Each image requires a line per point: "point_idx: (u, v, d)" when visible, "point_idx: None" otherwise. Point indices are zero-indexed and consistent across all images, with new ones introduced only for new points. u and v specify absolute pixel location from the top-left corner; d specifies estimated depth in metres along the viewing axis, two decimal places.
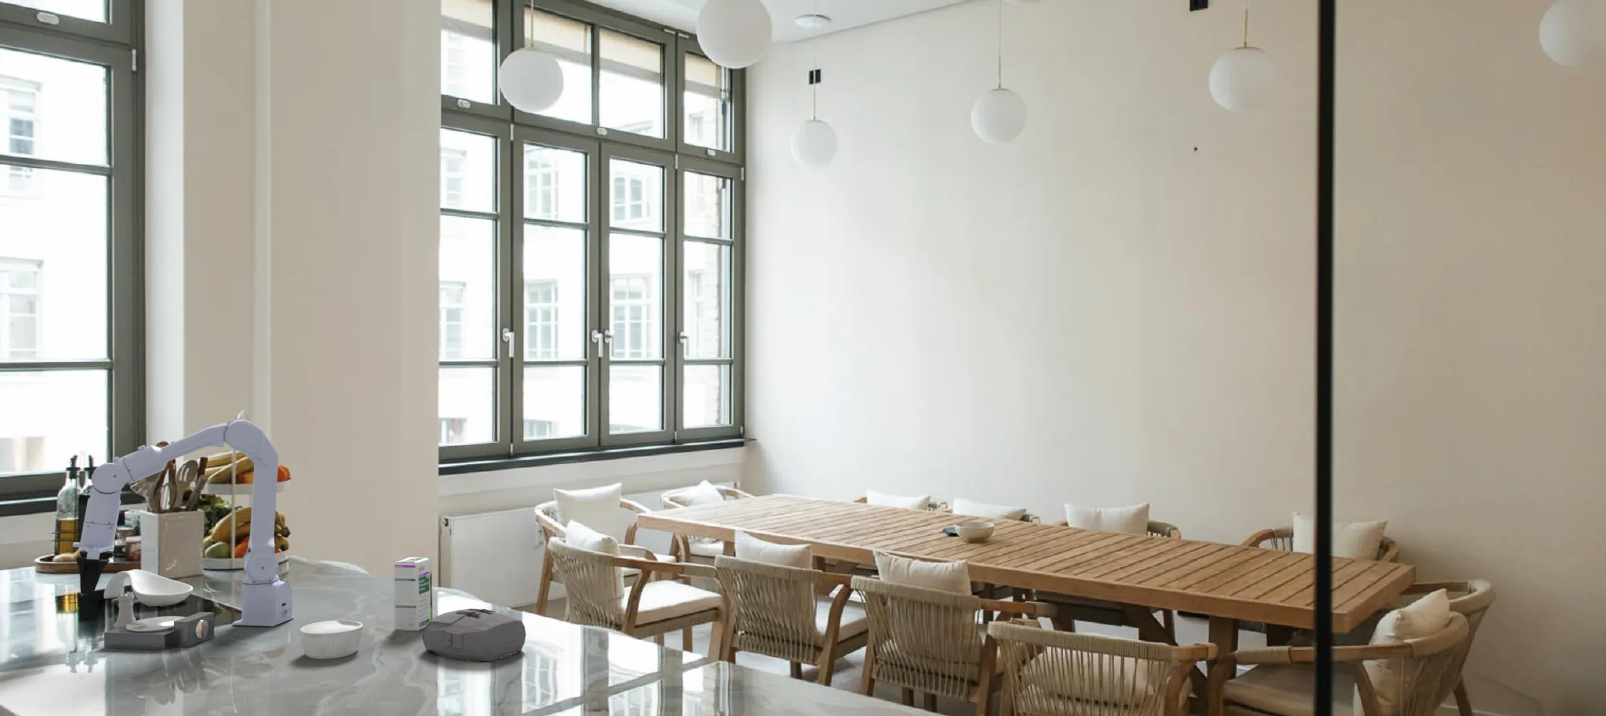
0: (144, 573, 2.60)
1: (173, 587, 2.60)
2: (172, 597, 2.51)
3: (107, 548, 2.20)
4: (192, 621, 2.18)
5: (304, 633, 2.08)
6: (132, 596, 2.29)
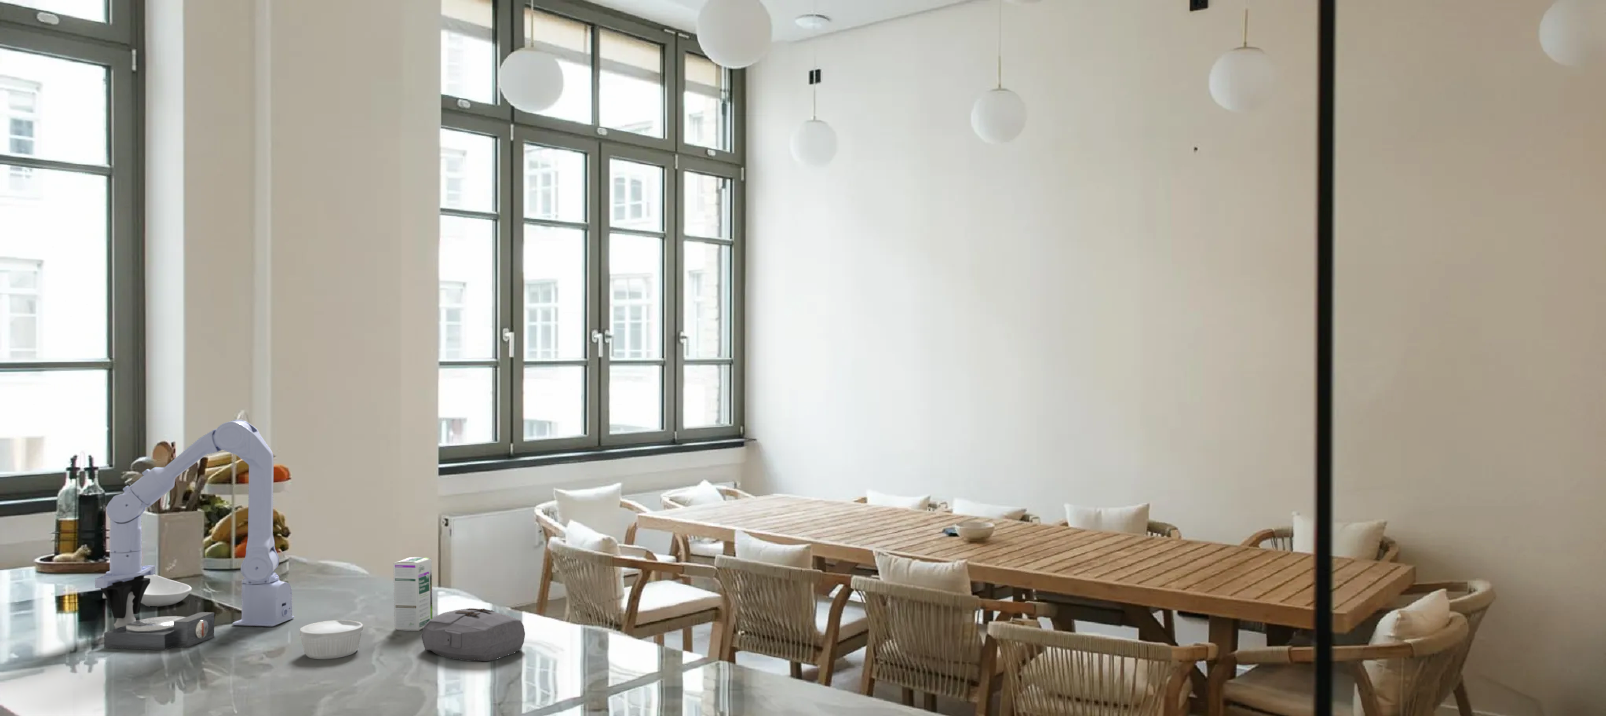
0: None
1: (172, 587, 2.60)
2: (170, 597, 2.51)
3: (123, 576, 2.26)
4: (192, 621, 2.18)
5: (304, 633, 2.08)
6: (132, 596, 2.29)
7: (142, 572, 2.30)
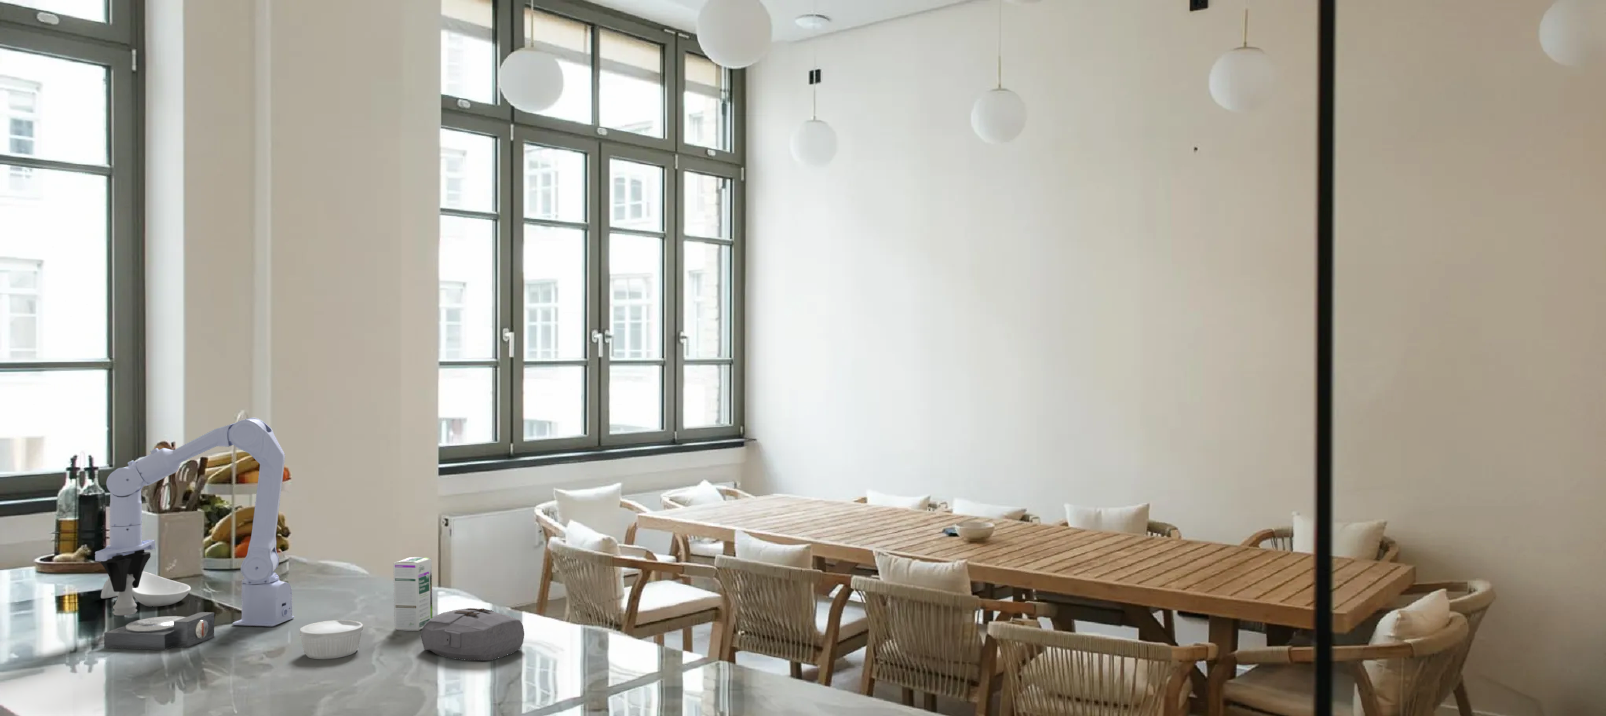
0: None
1: (171, 587, 2.60)
2: (170, 597, 2.51)
3: (123, 549, 2.26)
4: (192, 621, 2.18)
5: (304, 633, 2.08)
6: (132, 578, 2.29)
7: (142, 546, 2.30)
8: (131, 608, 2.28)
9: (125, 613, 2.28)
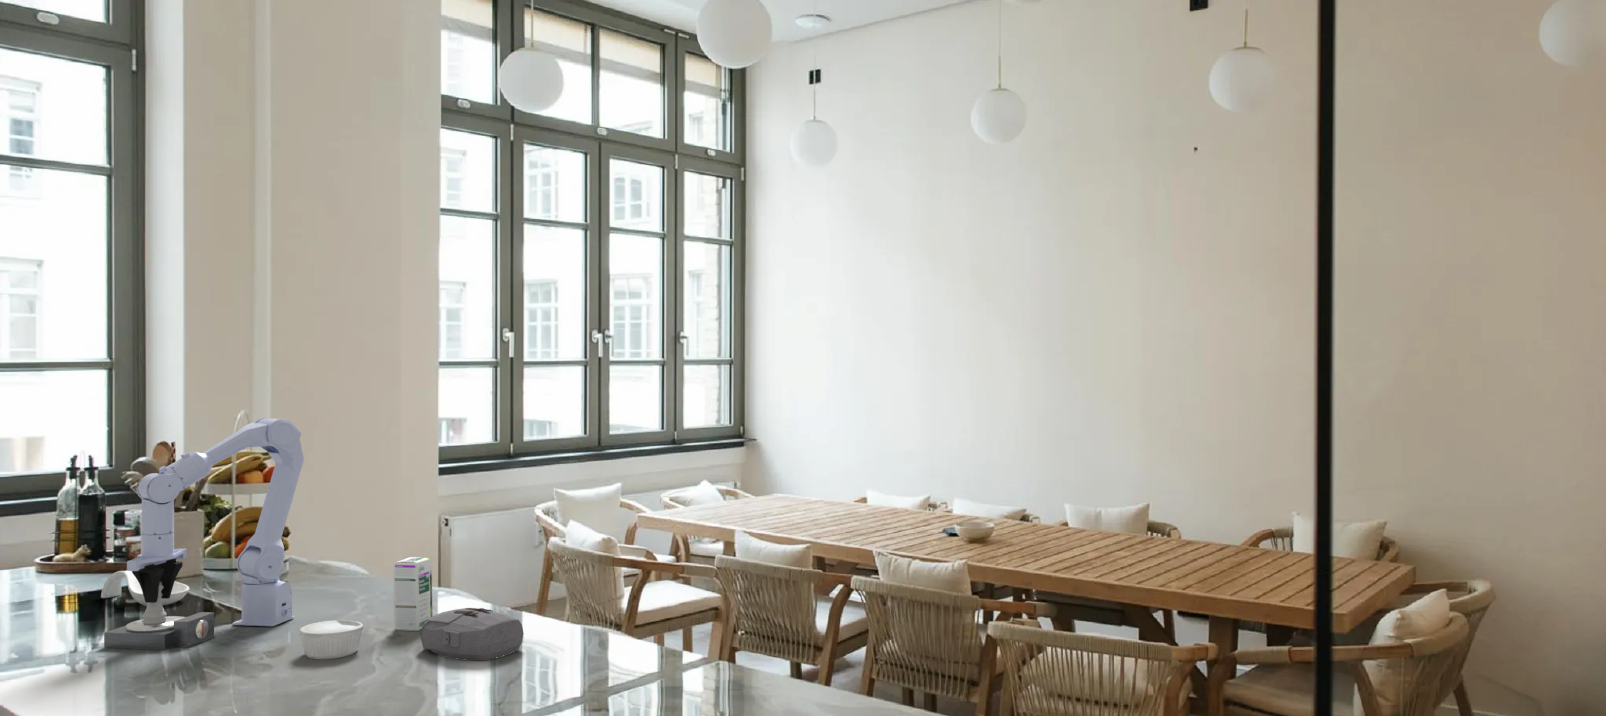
0: None
1: None
2: None
3: (155, 559, 2.18)
4: (192, 621, 2.18)
5: (304, 633, 2.08)
6: (161, 586, 2.22)
7: (174, 555, 2.23)
8: (161, 617, 2.21)
9: (155, 622, 2.20)
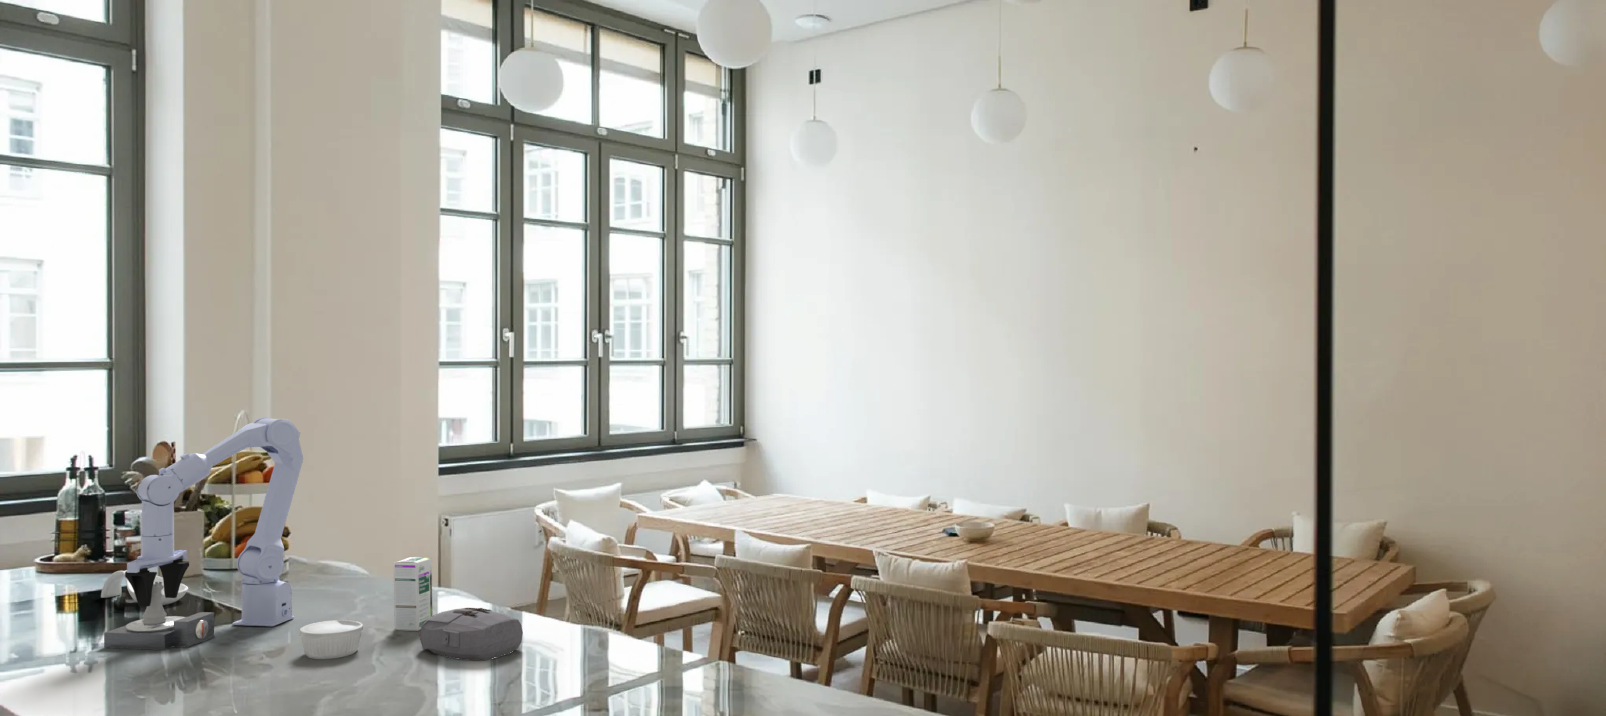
0: None
1: None
2: None
3: (155, 560, 2.18)
4: (192, 621, 2.18)
5: (304, 633, 2.08)
6: (161, 586, 2.22)
7: (174, 557, 2.23)
8: (161, 617, 2.21)
9: (155, 622, 2.20)
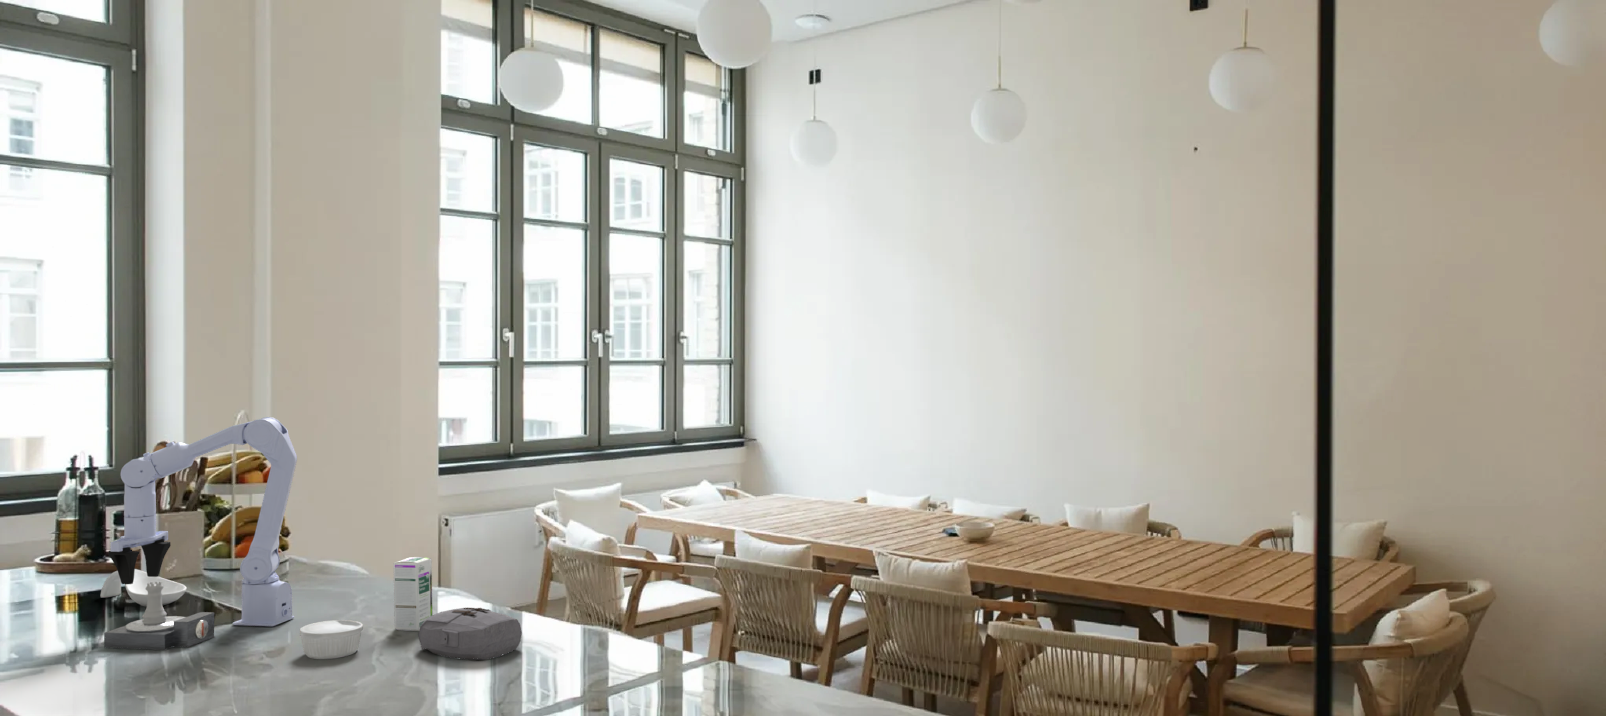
0: (139, 573, 2.60)
1: (168, 587, 2.60)
2: (164, 597, 2.51)
3: (138, 540, 2.27)
4: (192, 621, 2.18)
5: (304, 633, 2.08)
6: (161, 586, 2.22)
7: (156, 537, 2.32)
8: (161, 617, 2.21)
9: (155, 622, 2.20)
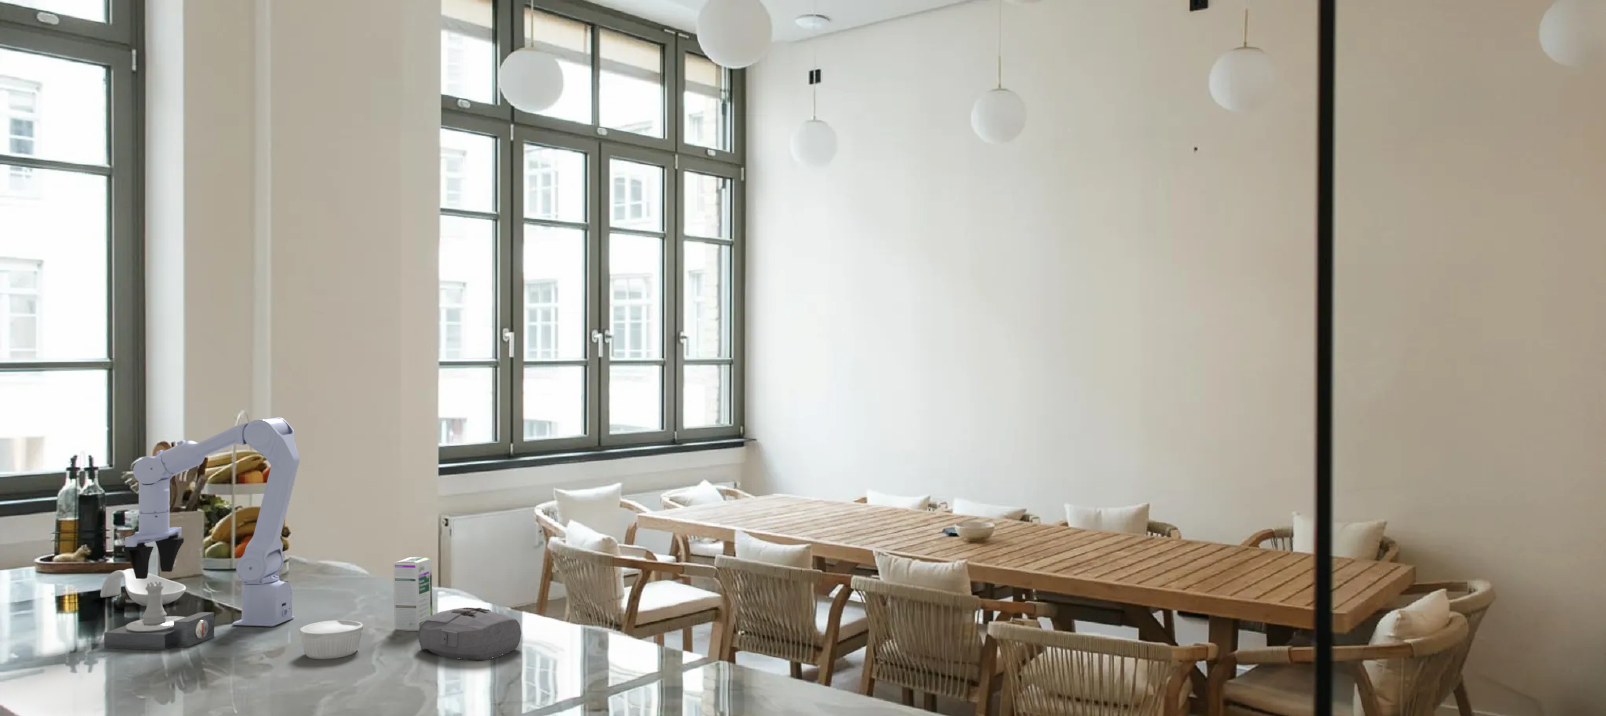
0: None
1: (167, 586, 2.60)
2: (163, 596, 2.51)
3: (152, 536, 2.33)
4: (192, 621, 2.18)
5: (304, 633, 2.08)
6: (161, 586, 2.22)
7: (170, 533, 2.37)
8: (161, 617, 2.21)
9: (155, 622, 2.20)
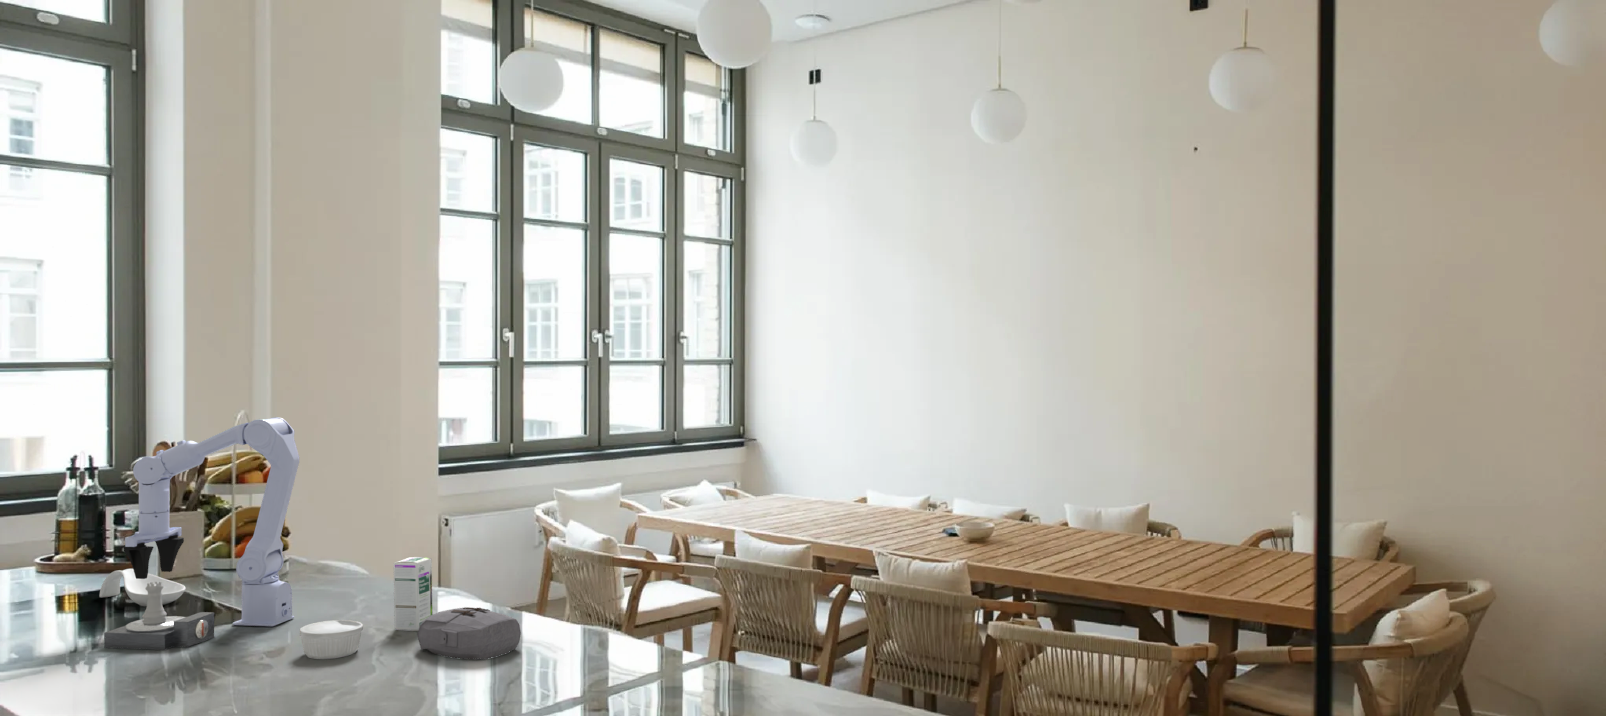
0: None
1: (167, 586, 2.60)
2: (163, 596, 2.51)
3: (152, 536, 2.33)
4: (192, 621, 2.18)
5: (304, 633, 2.08)
6: (161, 586, 2.22)
7: (170, 533, 2.37)
8: (161, 617, 2.21)
9: (155, 622, 2.20)
